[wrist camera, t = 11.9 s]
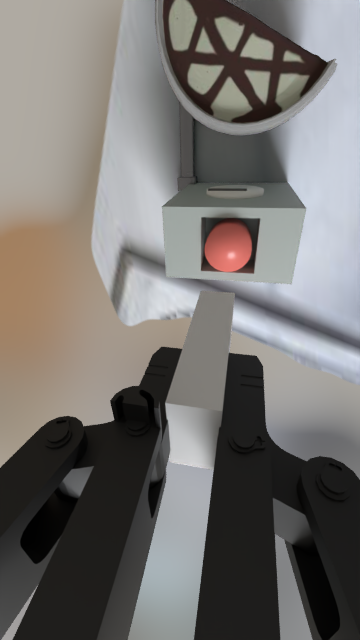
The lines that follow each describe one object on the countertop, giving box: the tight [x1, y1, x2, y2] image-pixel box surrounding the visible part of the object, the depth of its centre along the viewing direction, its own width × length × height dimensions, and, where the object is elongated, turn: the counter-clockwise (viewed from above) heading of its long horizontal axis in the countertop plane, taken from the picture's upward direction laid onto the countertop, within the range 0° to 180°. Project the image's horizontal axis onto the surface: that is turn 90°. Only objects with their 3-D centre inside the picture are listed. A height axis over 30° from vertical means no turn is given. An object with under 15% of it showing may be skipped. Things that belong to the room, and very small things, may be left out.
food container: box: [155, 0, 337, 135], centre depth 22 cm, size 12×6×10 cm, turn 65°
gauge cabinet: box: [162, 182, 306, 284], centre depth 27 cm, size 10×6×12 cm, turn 92°
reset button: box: [205, 218, 252, 272], centre depth 22 cm, size 3×3×2 cm
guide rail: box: [178, 101, 197, 191], centre depth 27 cm, size 2×17×1 cm, turn 2°
